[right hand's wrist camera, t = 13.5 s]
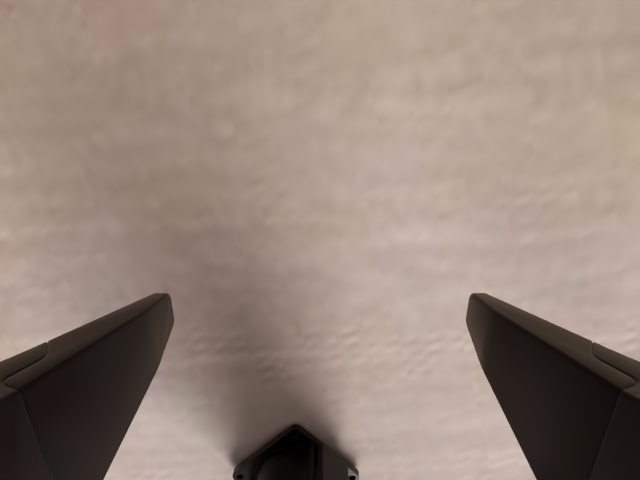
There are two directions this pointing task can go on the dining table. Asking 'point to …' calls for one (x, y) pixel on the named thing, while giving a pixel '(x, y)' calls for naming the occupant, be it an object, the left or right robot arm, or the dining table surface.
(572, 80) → the dining table surface
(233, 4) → the dining table surface
